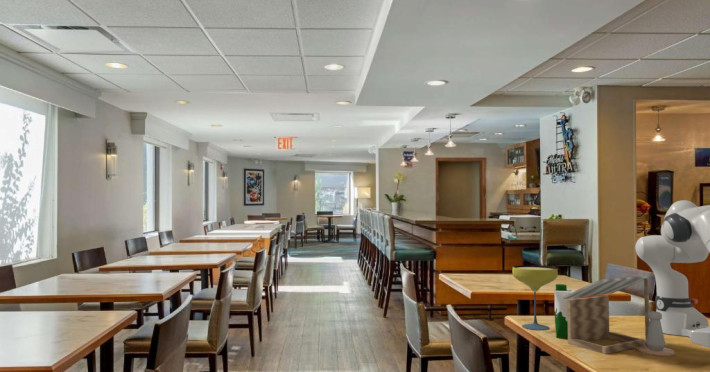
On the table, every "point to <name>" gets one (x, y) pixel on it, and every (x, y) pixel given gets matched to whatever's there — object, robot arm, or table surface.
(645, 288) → the cold frame
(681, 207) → the robot arm
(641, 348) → the terracotta saucer
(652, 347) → the salt shaker
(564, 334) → the milk carton
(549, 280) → the cocktail glass
